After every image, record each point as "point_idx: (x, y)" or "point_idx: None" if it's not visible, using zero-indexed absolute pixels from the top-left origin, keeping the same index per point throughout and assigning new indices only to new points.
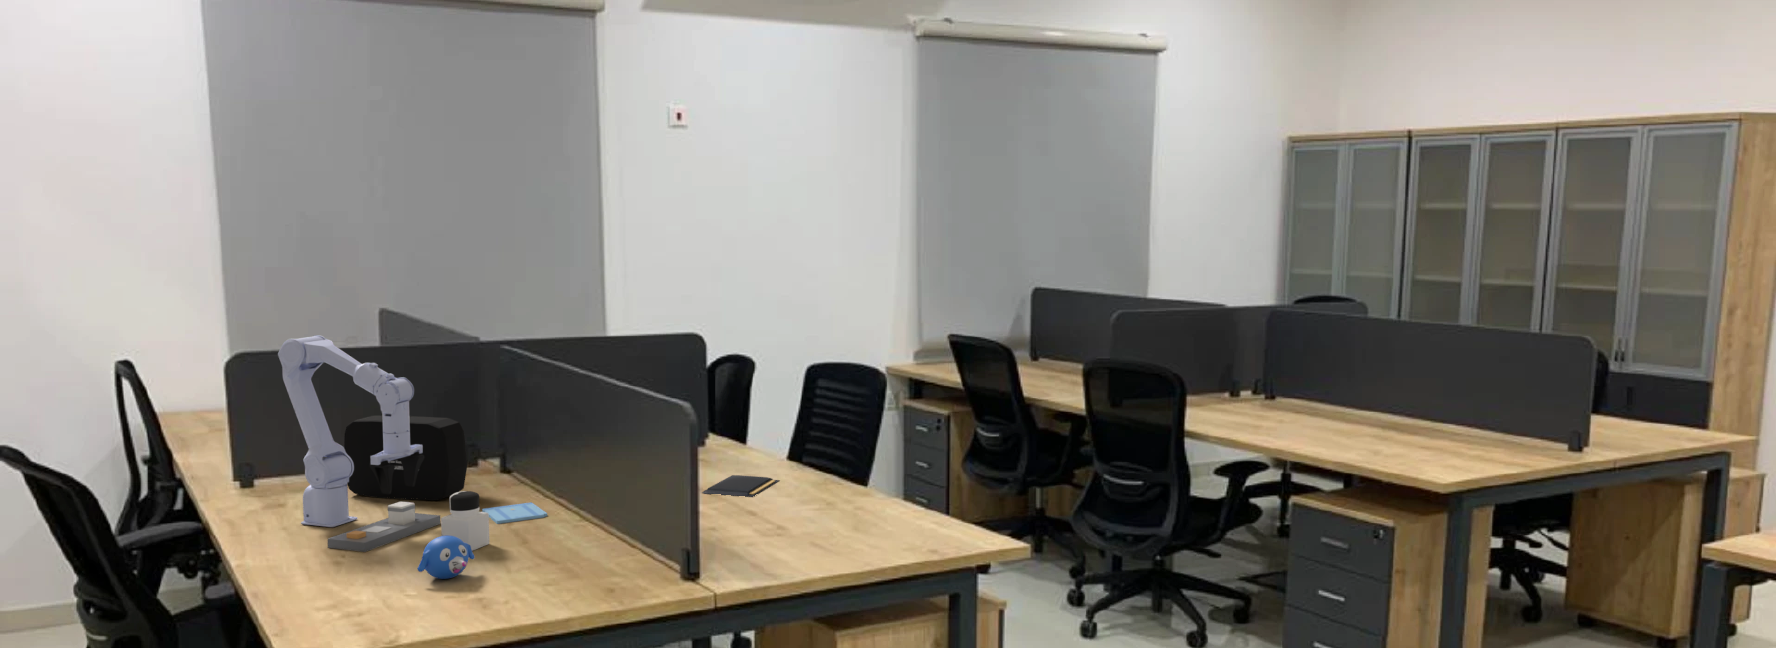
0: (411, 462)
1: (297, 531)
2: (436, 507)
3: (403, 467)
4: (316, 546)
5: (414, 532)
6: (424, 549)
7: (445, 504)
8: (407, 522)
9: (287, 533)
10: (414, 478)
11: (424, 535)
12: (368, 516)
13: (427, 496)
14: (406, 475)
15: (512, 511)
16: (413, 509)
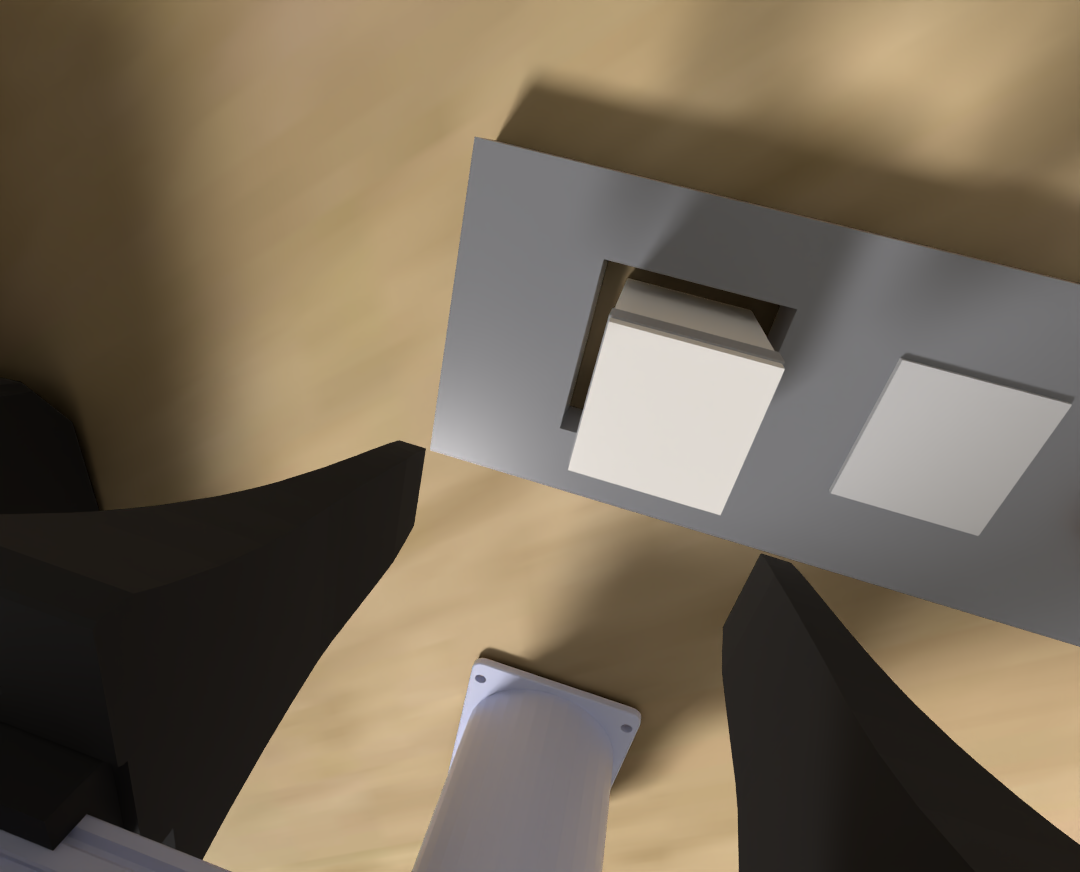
0: (221, 666)
1: (700, 811)
2: (162, 372)
3: (289, 700)
4: (1041, 683)
5: (784, 211)
6: None
7: (94, 349)
8: (710, 311)
9: (735, 835)
10: (374, 471)
11: (844, 93)
12: (412, 628)
13: (69, 479)
14: (351, 588)
15: None
16: (630, 312)
